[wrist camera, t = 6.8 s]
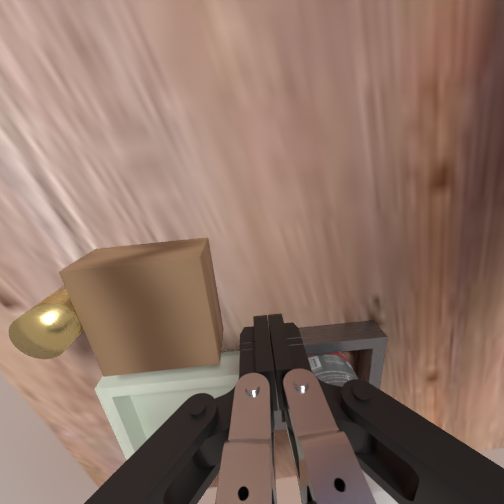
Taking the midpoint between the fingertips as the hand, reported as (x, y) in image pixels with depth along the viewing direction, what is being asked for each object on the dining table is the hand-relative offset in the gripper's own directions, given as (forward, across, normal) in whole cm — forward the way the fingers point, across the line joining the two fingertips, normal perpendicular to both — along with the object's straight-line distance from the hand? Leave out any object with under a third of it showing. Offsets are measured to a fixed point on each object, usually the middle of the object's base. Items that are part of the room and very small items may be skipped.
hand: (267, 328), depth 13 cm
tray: (+6, +8, +13) cm, 16 cm away
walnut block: (+6, +8, 0) cm, 10 cm away
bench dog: (+6, +13, 0) cm, 14 cm away
